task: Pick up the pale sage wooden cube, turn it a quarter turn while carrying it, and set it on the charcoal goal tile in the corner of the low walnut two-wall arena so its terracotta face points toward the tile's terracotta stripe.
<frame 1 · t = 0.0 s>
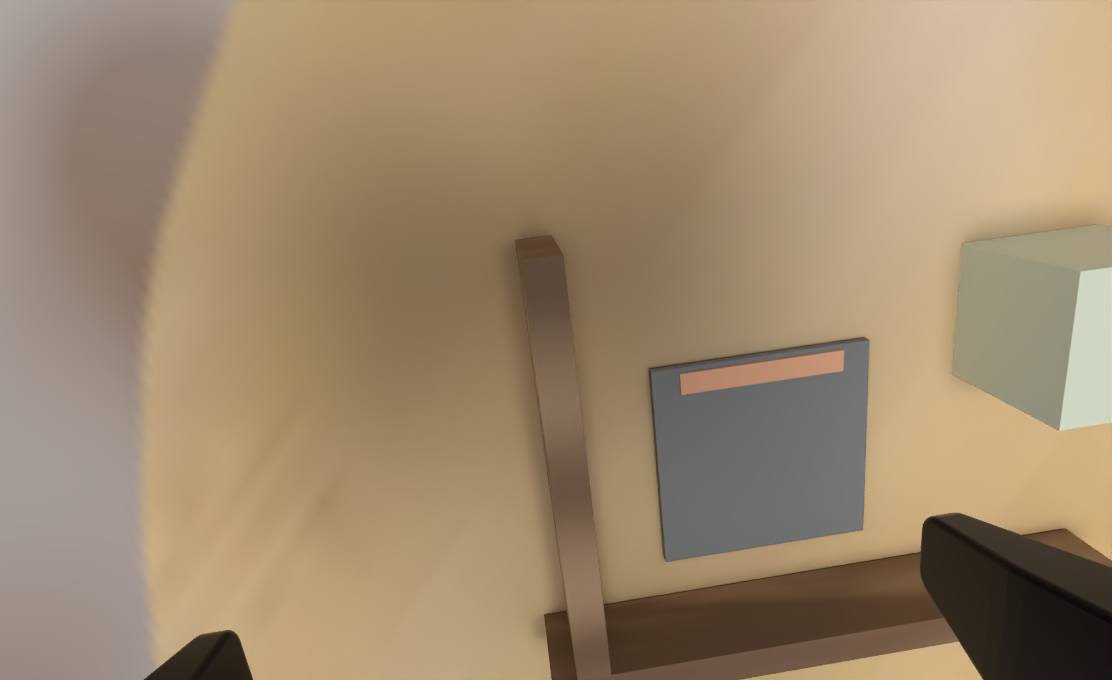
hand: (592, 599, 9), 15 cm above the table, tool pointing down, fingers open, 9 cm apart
arena: (811, 432, 25), on the table
sage cube: (1020, 300, 24), on the table
goal tile: (760, 452, 25), on the table
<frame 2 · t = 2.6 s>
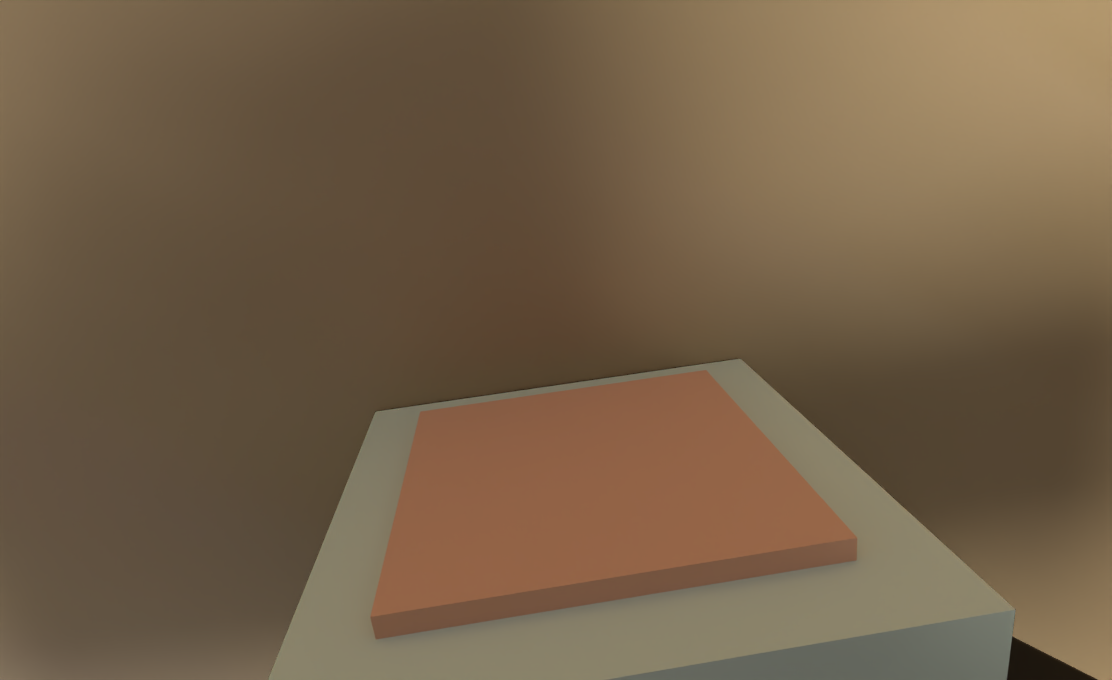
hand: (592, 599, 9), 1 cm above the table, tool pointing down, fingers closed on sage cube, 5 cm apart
sage cube: (580, 541, 10), on the table, touching gripper
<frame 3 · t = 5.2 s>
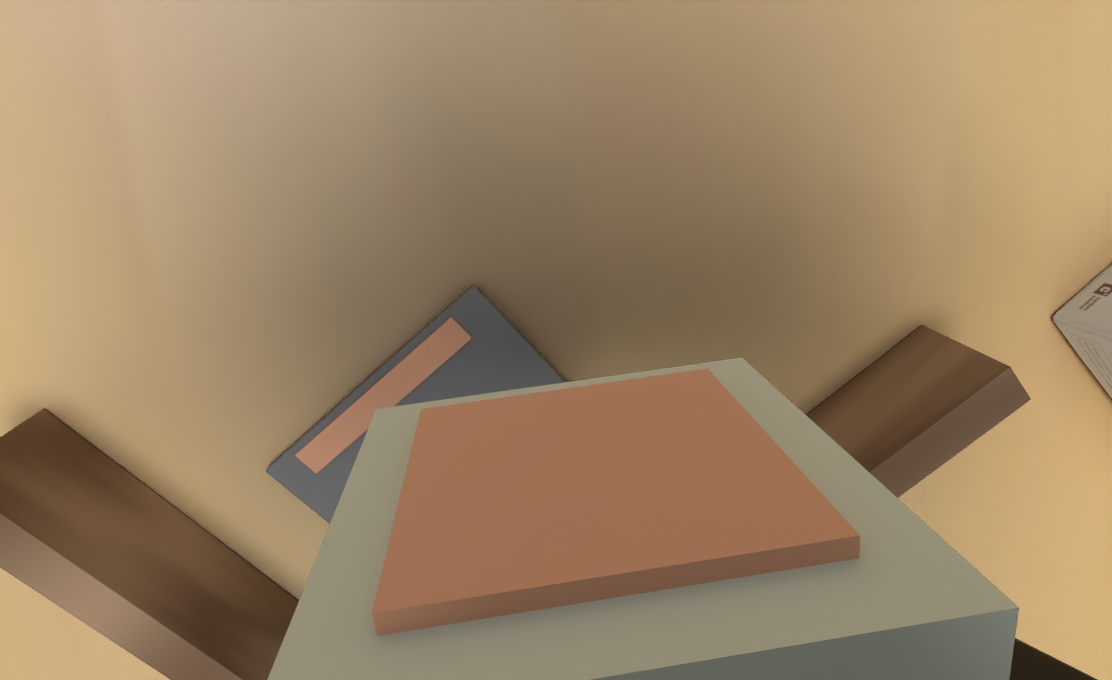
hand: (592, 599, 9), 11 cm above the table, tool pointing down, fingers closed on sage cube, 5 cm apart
arena: (505, 416, 19), on the table
sage cube: (580, 539, 10), point 9 cm above the table, touching gripper
goal tile: (466, 469, 20), on the table
when the fingers open (3 cm above the table, at t = 8.1 s): sage cube drops 1 cm, resting on goal tile.
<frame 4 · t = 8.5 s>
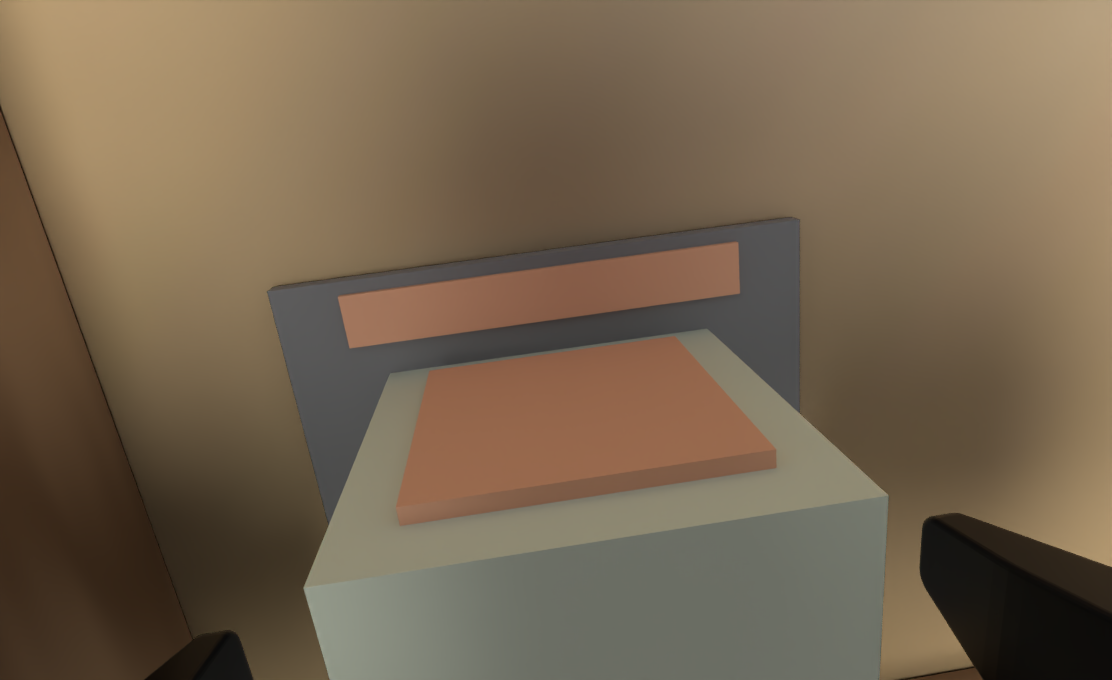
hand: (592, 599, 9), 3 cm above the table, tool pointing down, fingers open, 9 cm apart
arena: (678, 436, 11), on the table
sage cube: (568, 490, 11), resting on goal tile
goal tile: (566, 479, 11), on the table
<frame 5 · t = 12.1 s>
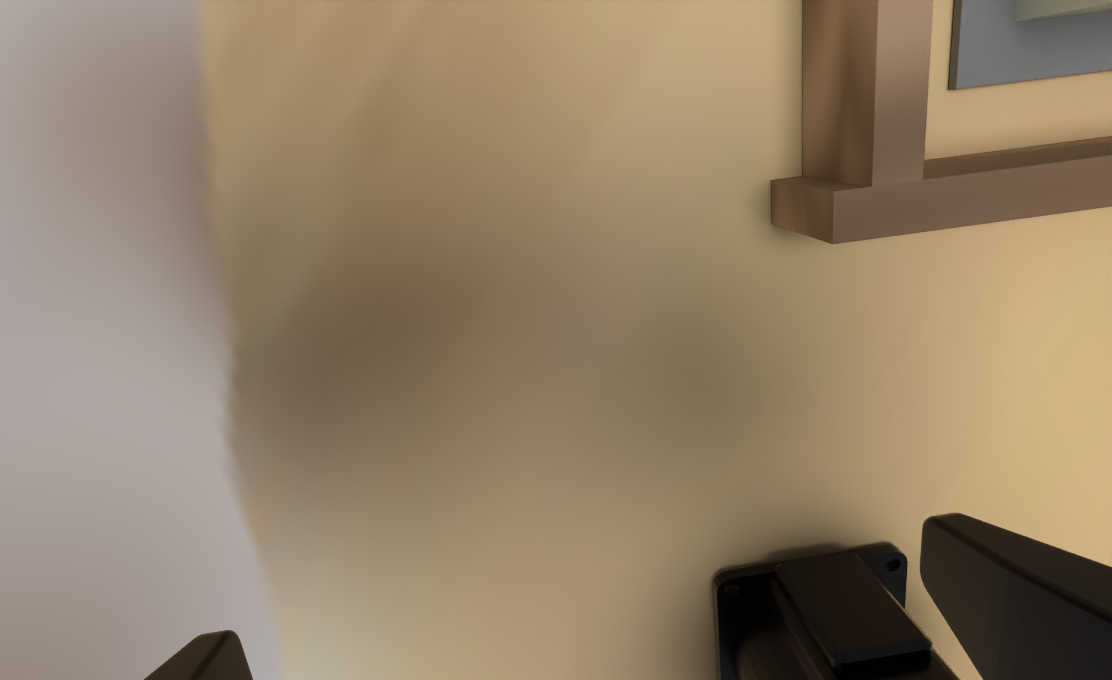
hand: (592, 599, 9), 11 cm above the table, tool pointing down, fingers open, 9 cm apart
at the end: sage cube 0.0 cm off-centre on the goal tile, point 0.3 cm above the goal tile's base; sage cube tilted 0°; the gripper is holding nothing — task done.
